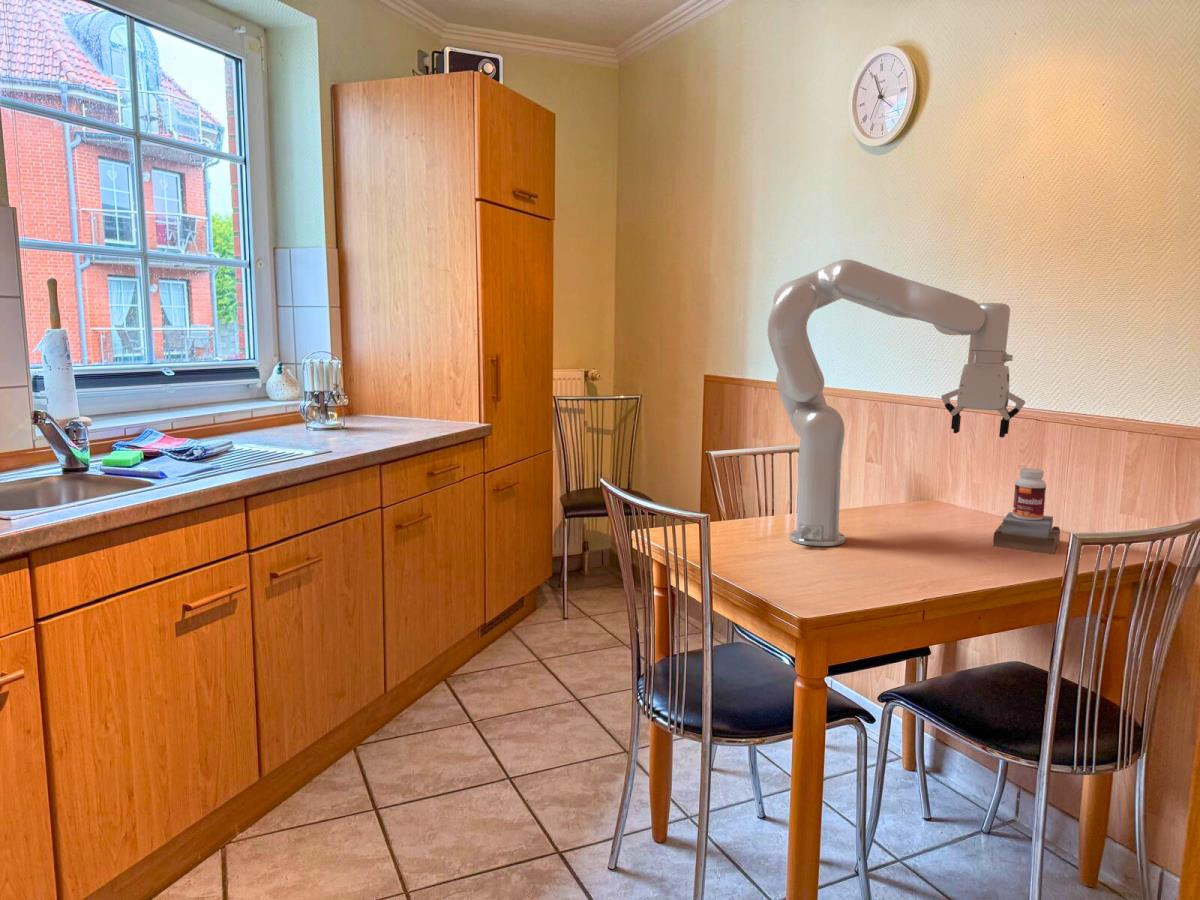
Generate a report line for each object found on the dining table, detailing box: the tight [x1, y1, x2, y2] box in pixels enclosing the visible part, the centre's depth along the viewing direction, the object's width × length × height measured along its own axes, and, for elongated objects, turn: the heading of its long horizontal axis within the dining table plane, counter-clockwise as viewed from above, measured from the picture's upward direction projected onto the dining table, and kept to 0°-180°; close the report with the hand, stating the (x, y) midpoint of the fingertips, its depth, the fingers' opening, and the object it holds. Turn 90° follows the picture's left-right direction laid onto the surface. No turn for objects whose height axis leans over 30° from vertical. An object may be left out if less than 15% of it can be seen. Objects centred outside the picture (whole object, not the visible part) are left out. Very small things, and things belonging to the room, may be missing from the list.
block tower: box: [992, 511, 1061, 555], centre depth 185 cm, size 12×12×6 cm
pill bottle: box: [1012, 467, 1047, 521], centre depth 184 cm, size 6×6×11 cm
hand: (978, 434), depth 185 cm, fingers open, 9 cm apart
